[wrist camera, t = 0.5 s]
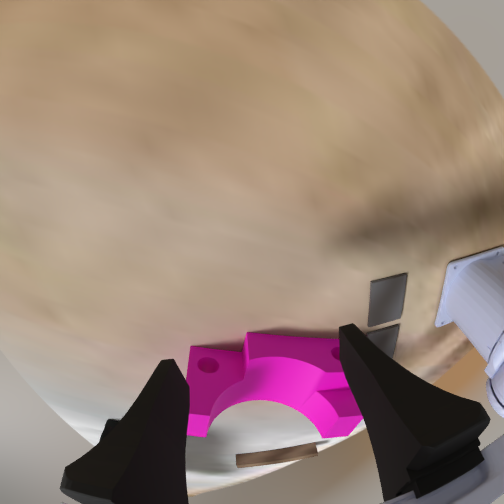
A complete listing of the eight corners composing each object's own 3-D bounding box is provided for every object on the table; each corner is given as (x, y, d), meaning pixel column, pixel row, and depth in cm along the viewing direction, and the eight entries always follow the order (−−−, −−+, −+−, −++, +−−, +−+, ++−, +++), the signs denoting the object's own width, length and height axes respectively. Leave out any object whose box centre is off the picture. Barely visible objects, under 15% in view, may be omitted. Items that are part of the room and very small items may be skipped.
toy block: (352, 338, 26) (379, 397, 19) (329, 379, 29) (347, 435, 22) (192, 323, 24) (183, 394, 17) (188, 370, 26) (181, 434, 20)
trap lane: (405, 272, 23) (416, 284, 21) (370, 430, 36) (374, 439, 34) (165, 319, 23) (161, 335, 21) (237, 457, 36) (237, 467, 34)
